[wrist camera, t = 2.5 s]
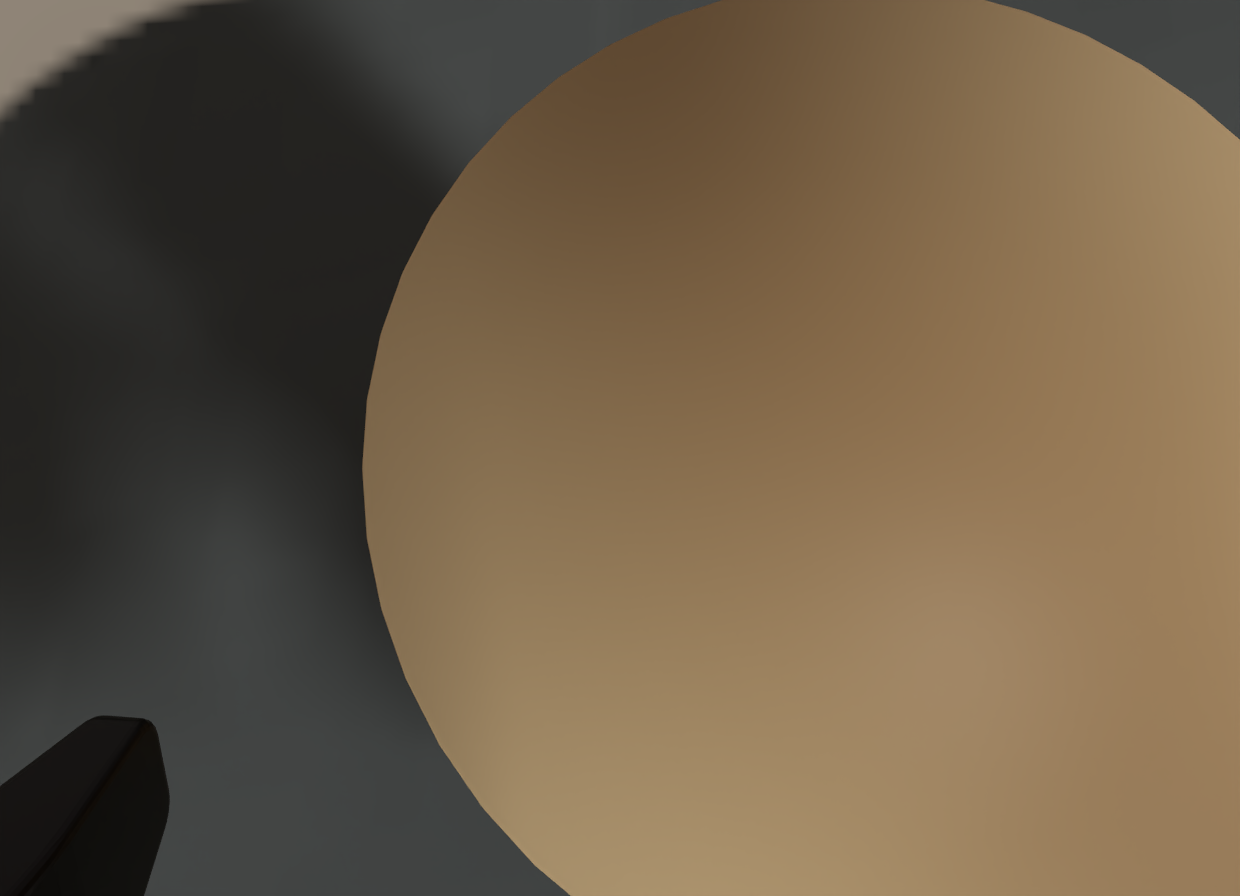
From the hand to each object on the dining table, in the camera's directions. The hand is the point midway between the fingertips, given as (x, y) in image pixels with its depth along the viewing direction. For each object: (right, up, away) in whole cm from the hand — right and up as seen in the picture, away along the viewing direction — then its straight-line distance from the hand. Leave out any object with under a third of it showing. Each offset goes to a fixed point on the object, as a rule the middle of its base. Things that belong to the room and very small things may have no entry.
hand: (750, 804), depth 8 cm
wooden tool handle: (0, 0, +10) cm, 10 cm away
